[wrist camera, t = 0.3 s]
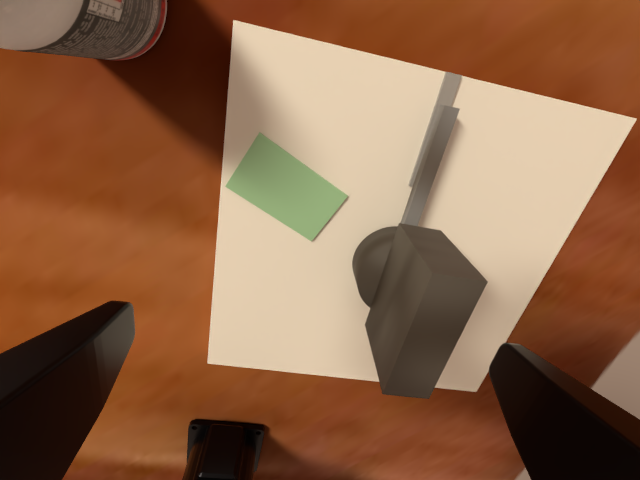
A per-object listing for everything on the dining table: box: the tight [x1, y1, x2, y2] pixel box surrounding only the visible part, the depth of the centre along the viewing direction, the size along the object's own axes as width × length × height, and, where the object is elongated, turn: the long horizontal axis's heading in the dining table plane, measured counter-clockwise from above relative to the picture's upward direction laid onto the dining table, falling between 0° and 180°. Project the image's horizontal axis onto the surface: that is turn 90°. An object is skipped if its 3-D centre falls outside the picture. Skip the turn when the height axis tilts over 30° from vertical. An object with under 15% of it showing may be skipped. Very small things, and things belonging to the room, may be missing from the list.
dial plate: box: [207, 20, 637, 392], centre depth 22 cm, size 22×22×1 cm
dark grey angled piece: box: [352, 104, 488, 399], centre depth 17 cm, size 13×5×7 cm, turn 168°
